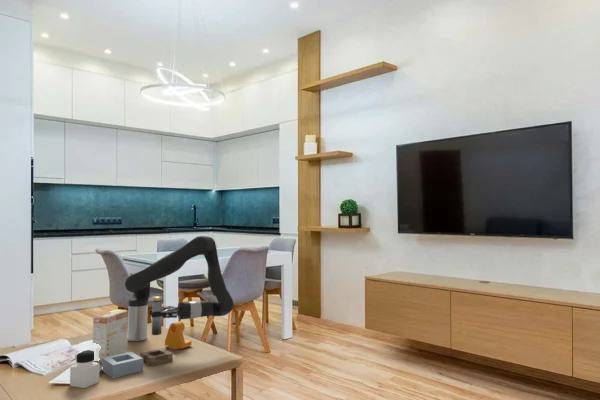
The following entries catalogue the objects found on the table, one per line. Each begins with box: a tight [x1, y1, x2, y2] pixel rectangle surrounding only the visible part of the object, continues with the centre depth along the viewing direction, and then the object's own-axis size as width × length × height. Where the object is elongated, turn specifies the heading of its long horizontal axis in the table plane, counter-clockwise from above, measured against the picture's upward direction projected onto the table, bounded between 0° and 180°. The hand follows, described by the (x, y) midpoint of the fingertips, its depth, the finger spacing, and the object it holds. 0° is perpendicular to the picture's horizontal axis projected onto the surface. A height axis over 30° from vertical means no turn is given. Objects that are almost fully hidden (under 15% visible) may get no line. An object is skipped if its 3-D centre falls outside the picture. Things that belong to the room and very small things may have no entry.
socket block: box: [139, 348, 174, 366], centre depth 194 cm, size 10×10×3 cm
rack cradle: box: [101, 351, 144, 379], centre depth 180 cm, size 12×12×5 cm
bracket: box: [164, 320, 192, 350], centre depth 214 cm, size 11×7×12 cm, turn 62°
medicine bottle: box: [69, 349, 100, 389], centre depth 166 cm, size 7×7×12 cm
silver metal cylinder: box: [151, 295, 163, 336], centre depth 194 cm, size 4×4×16 cm
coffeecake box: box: [92, 308, 128, 363], centre depth 198 cm, size 15×7×20 cm, turn 164°
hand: (150, 313), depth 193 cm, fingers closed on silver metal cylinder, 4 cm apart
